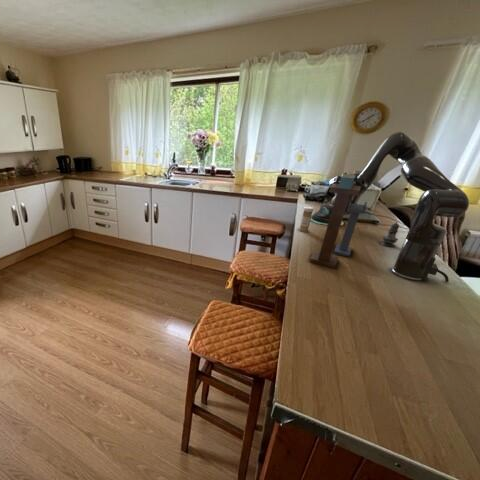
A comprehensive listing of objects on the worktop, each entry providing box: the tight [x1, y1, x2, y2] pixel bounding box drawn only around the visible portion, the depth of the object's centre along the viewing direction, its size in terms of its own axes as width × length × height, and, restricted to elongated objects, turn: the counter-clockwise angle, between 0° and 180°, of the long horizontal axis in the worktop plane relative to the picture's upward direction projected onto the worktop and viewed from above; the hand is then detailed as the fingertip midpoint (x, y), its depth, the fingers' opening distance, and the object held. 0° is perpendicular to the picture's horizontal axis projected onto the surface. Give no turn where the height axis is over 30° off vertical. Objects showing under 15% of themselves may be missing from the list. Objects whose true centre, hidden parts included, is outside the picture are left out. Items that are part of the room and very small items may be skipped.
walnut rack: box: [309, 183, 361, 269], centre depth 103 cm, size 9×10×32 cm
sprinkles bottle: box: [298, 206, 314, 233], centre depth 141 cm, size 5×5×14 cm
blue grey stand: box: [333, 200, 368, 258], centre depth 114 cm, size 6×10×23 cm, turn 142°
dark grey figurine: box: [380, 221, 400, 248], centre depth 124 cm, size 6×6×12 cm
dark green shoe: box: [310, 204, 344, 226], centre depth 160 cm, size 15×19×20 cm
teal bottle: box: [338, 173, 357, 189], centre depth 99 cm, size 4×19×4 cm, turn 142°
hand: (349, 175), depth 100 cm, fingers closed on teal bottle, 2 cm apart
